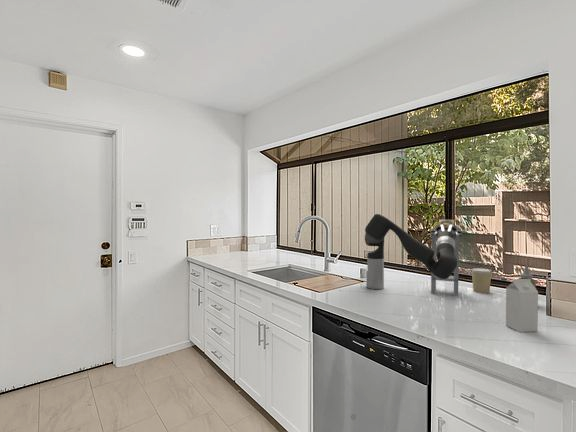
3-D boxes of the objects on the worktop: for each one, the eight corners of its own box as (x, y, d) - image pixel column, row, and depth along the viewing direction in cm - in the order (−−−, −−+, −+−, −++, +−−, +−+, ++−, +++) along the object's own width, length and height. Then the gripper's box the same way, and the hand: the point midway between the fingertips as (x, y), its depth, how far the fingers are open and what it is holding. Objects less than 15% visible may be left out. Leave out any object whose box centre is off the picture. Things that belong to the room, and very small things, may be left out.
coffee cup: (485, 289, 182) (486, 268, 182) (494, 293, 173) (495, 271, 173) (468, 289, 183) (468, 268, 183) (476, 293, 174) (476, 271, 174)
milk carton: (505, 325, 127) (506, 277, 127) (522, 324, 128) (523, 277, 127) (519, 332, 120) (520, 281, 120) (537, 331, 121) (538, 281, 120)
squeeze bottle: (532, 302, 157) (533, 265, 157) (539, 307, 149) (540, 268, 149) (513, 301, 160) (513, 264, 159) (518, 306, 152) (519, 267, 152)
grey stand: (430, 293, 175) (430, 234, 174) (431, 289, 184) (431, 232, 183) (459, 296, 169) (459, 234, 168) (458, 291, 178) (459, 233, 177)
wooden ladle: (438, 227, 156) (438, 221, 155) (439, 225, 173) (439, 219, 172) (454, 228, 152) (454, 221, 152) (454, 225, 169) (454, 219, 169)
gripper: (429, 248, 151) (431, 228, 164) (462, 250, 145) (462, 229, 158) (428, 235, 148) (430, 215, 161) (463, 237, 141) (462, 215, 154)
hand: (446, 222), depth 159 cm, fingers closed on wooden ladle, 2 cm apart
